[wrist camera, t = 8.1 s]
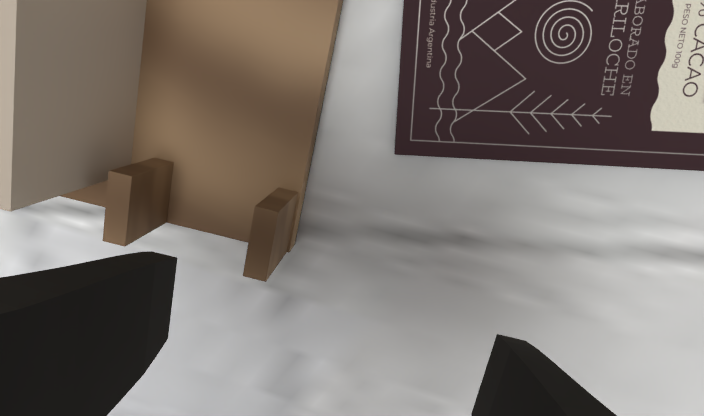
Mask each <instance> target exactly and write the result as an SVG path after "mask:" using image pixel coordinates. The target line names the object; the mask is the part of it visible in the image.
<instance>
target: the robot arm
mask: <svg viewBox="0 0 704 416" xmlns="http://www.w3.org/2000/svg"><path fill="white" fill-rule="evenodd" d="M176 264H177V258H176V257H172V256H168V255H164V254H159V253H155V252H138V253H131V254H125V255H120V256H115V257H110V258H105V259H100V260H95V261H90V262H85V263H80V264H75V265H70V266H66V267H60V268H55V269H49V270H43V271H37V272H32V273H26V274H20V275H15V276H9V277H2V278H0V416H107V415H108V413H109V412H110V411H111V410H112V409H113V408H114V407H115V406H116V405H117V404H118V403H119V401H120V400H121V399H122V398H123V397H124V396H125V395H126V394H127V392H128V391H129V390H130V389H131V388H132V387H133V386H134V385H135V384H136V382H137V381H138V380H139V379H140V378H141V377H142V375H143V374H144V373H145V372H146V370H147V369H148V367H149V366H150V364H151V363H152V362H153V360H154V359H155V357H156V356H157V354H158V353H159V351H160V350H161V348H162V347H163V345H164V343H165V342H166V340H167V339H168V332H169V324H170V315H171V307H172V298H173V290H174V281H175V273H176ZM472 416H617V415H615V414H614V413H613V412H611V411H610V410H609V409H608V408H607V407H605V406H604V405H603V404H602V403H600V402H599V401H598V400H597V399H596V398H594V397H593V396H592V395H591V394H590V393H588V392H587V391H586V390H585V389H584V388H583V387H581V386H580V385H579V384H578V383H577V382H576V381H574V380H573V379H572V378H571V377H570V376H569V375H567V374H566V373H565V372H564V371H563V370H562V369H561V368H559V367H558V366H557V365H556V364H555V363H554V362H552V361H551V360H550V359H549V358H548V357H546V356H545V355H544V354H543V353H542V352H540V351H539V350H538V349H537V348H535V347H534V346H532V345H531V344H529V343H528V342H526V341H524V340H519V339H515V338H511V337H507V336H503V335H498V334H497V336H496V339H495V342H494V346H493V349H492V352H491V355H490V358H489V361H488V364H487V367H486V370H485V374H484V377H483V380H482V383H481V386H480V389H479V392H478V395H477V398H476V402H475V405H474V408H473V411H472Z"/></svg>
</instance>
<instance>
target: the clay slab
mask: <svg viewBox="0 0 704 416" xmlns="http://www.w3.org/2000/svg"><path fill="white" fill-rule="evenodd" d="M146 3H147V0H0V209H3V210H7V211H13V210H16V209H20V208H23V207H26V206H29V205H32V204H35V203H38V202H41V201H44V200H48V199H51V198H54V197H57V196H60V195H63V194H66V193H69V192H72V191H75V190H79V189H82V188H85V187H88V186H91V185H94V184H97V183H100V182H103V181H107V180H108V174H109V171H110V170H113V169H117V168H120V167H123V166H127V165H130V164H131V158H132V147H133V137H134V127H135V117H136V106H137V96H138V86H139V75H140V65H141V55H142V44H143V34H144V24H145V14H146Z"/></svg>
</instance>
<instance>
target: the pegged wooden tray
mask: <svg viewBox="0 0 704 416" xmlns="http://www.w3.org/2000/svg"><path fill="white" fill-rule="evenodd" d="M342 3H343V0H147V3H146V14H145V24H144V34H143V44H142V55H141V65H140V75H139V86H138V96H137V106H136V117H135V127H134V137H133V147H132V158H131V164H130V165H127V166H123V167H120V168H117V169H113V170H110V171H109V174H108V180H107V181H103V182H100V183H97V184H94V185H91V186H88V187H85V188H82V189H79V190H75V191H72V192H69V193H66V194H63V195H60V196H62V197H66V198H70V199H74V200H78V201H82V202H86V203H90V204H94V205H98V206H103V207H106V209H105V221H104V233H103V241H105V242H109V243H113V244H117V245H121V246H127V245H128V244H130V243H132V242H133V241H135V240H137V239H139V238H140V237H142V236H144V235H146V234H147V233H149V232H151V231H152V230H154V229H156V228H158V227H159V226H161V225H163V224H165V223H166V222H167V223H171V224H175V225H179V226H184V227H188V228H192V229H196V230H200V231H204V232H208V233H212V234H216V235H220V236H224V237H228V238H232V239H236V240H240V241H244V242H248V249H247V255H246V261H245V267H244V272H243V276H245V277H249V278H253V279H257V280H261V281H265V282H266V281H267V279H268V278H269V276H270V275H271V273H272V272H273V271H274V269H275V268H276V266H277V265H278V264H279V262H280V261H281V259H282V258H283V256H284V255H285V254H286V252H290V251H291V249H292V248H293V246H294V245H295V240H296V235H297V230H298V225H299V220H300V215H301V210H302V205H303V200H304V195H305V190H306V185H307V180H308V175H309V170H310V165H311V160H312V155H313V150H314V145H315V140H316V134H317V129H318V124H319V119H320V114H321V109H322V104H323V99H324V94H325V89H326V84H327V79H328V74H329V69H330V64H331V59H332V54H333V49H334V44H335V39H336V34H337V29H338V24H339V19H340V14H341V8H342Z"/></svg>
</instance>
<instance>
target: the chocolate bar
mask: <svg viewBox="0 0 704 416" xmlns="http://www.w3.org/2000/svg"><path fill="white" fill-rule="evenodd" d="M395 154H397V155H416V156H435V157H454V158H473V159H491V160H510V161H529V162H548V163H566V164H585V165H604V166H623V167H641V168H660V169H679V170H698V171H704V0H404V9H403V25H402V42H401V58H400V75H399V91H398V108H397V124H396V140H395Z"/></svg>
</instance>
